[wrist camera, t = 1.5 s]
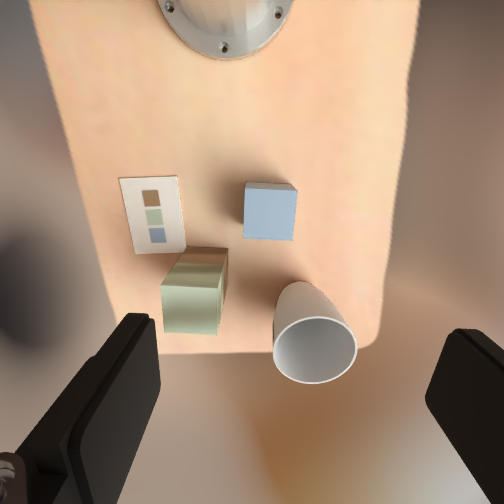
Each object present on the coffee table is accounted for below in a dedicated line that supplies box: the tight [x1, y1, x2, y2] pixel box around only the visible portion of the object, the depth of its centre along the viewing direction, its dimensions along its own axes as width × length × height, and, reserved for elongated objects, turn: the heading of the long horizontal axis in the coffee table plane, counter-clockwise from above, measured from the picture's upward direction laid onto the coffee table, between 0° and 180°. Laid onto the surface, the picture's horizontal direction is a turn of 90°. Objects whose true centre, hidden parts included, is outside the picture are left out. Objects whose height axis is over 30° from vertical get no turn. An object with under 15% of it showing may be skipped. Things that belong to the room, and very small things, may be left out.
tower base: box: [161, 246, 228, 335], centre depth 29 cm, size 5×5×10 cm
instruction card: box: [119, 176, 187, 254], centre depth 32 cm, size 9×6×1 cm
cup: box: [273, 281, 357, 384], centre depth 31 cm, size 8×8×10 cm
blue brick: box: [243, 182, 298, 241], centre depth 29 cm, size 5×5×5 cm
